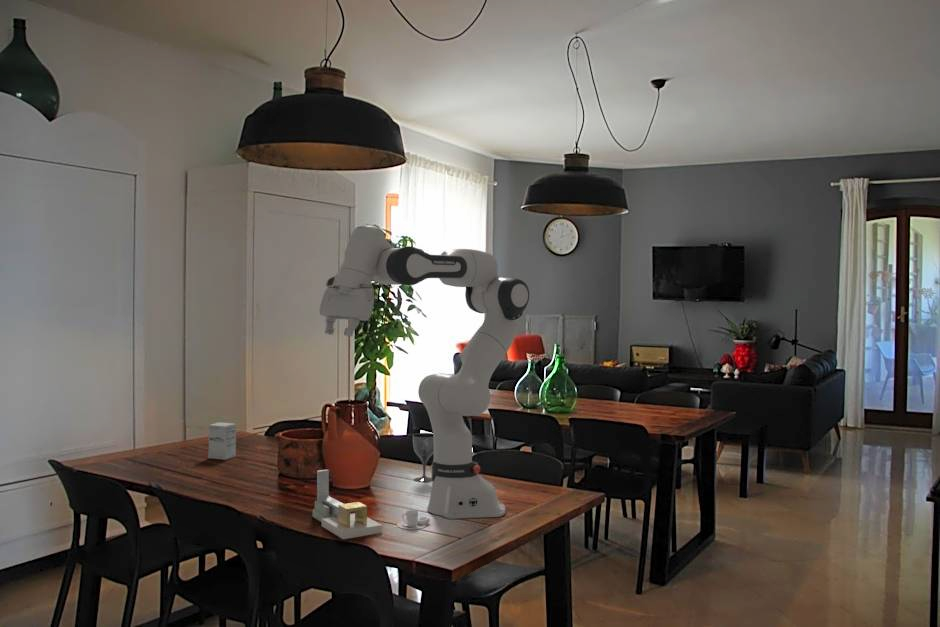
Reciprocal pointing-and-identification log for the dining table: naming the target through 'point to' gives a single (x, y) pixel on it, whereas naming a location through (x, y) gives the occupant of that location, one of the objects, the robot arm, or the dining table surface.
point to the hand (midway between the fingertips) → (337, 335)
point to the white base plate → (351, 527)
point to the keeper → (349, 507)
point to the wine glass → (423, 451)
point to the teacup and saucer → (413, 520)
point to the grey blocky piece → (321, 511)
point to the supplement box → (222, 440)
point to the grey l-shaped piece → (326, 492)
